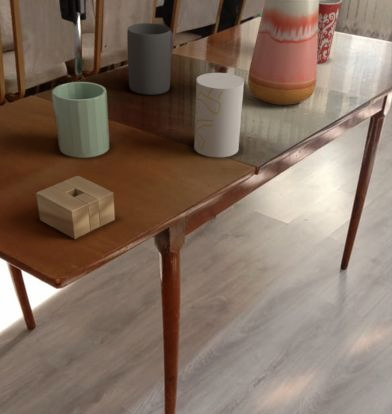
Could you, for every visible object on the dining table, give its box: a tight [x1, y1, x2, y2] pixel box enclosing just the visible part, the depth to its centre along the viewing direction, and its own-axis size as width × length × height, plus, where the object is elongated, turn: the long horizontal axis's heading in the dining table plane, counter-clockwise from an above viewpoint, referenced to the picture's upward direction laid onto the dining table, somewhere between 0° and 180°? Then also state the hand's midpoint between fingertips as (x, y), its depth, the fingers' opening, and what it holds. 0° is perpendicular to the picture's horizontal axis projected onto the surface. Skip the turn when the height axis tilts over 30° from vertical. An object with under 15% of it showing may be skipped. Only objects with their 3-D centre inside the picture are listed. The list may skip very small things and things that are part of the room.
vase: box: [247, 0, 319, 106], centre depth 126 cm, size 14×14×30 cm
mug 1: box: [126, 22, 174, 96], centre depth 135 cm, size 14×9×12 cm
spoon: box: [72, 0, 84, 76], centre depth 100 cm, size 1×3×14 cm, turn 49°
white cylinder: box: [193, 72, 245, 158], centre depth 111 cm, size 8×8×12 cm
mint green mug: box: [51, 81, 110, 159], centre depth 111 cm, size 12×9×10 cm
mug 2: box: [317, 0, 343, 64], centre depth 154 cm, size 13×9×14 cm
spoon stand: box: [35, 175, 116, 240], centre depth 92 cm, size 8×8×4 cm
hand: (73, 18), depth 100 cm, fingers closed on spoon, 1 cm apart
